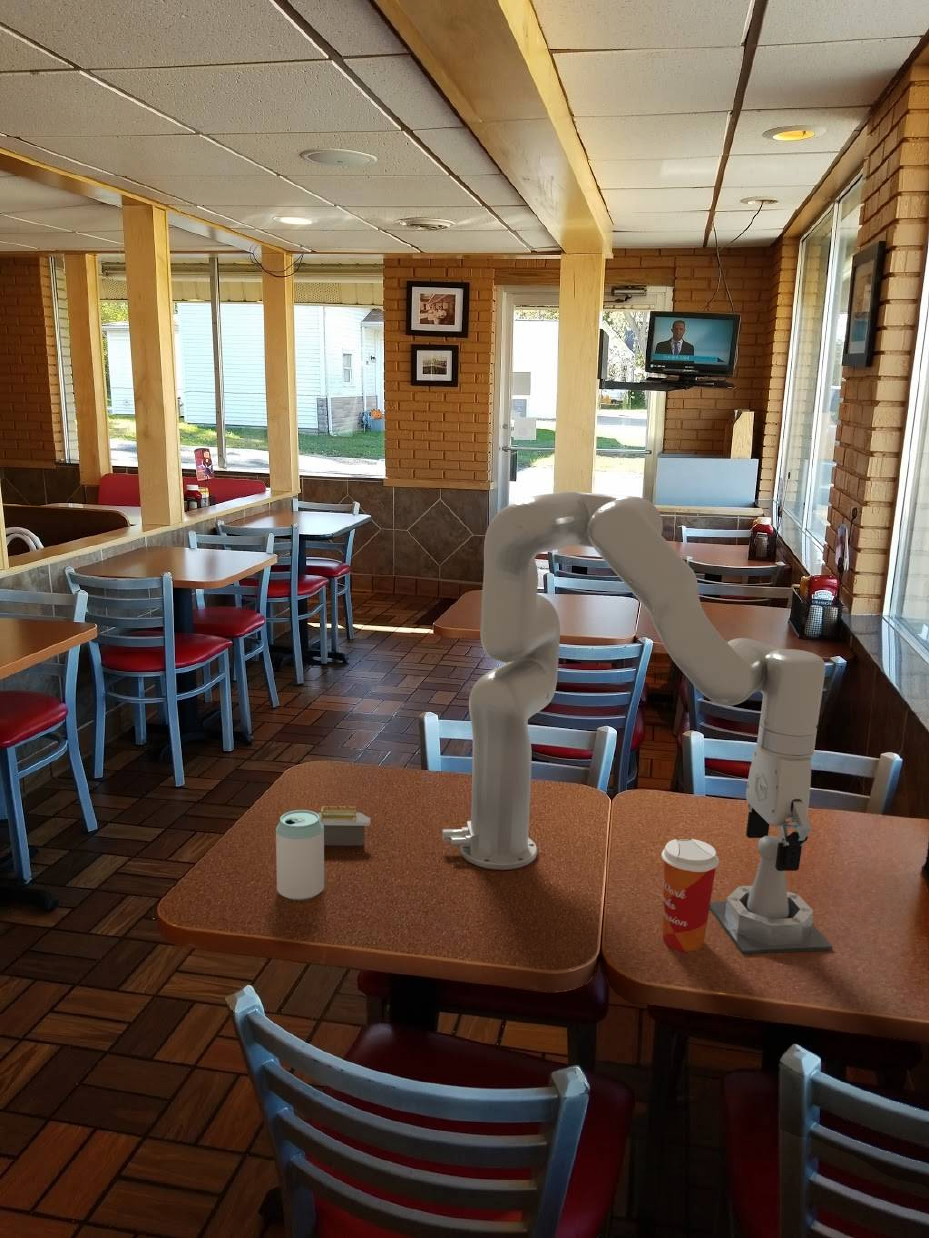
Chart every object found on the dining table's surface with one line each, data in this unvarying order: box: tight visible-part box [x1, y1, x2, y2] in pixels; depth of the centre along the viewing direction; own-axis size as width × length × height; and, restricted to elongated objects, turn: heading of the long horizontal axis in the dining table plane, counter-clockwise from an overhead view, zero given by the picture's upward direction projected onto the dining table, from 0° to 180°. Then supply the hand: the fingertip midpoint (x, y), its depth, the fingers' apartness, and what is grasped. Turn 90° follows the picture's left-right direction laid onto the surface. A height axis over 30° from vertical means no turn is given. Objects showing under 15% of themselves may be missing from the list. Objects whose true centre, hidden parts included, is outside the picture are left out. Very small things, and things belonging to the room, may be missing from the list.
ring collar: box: [709, 885, 833, 956], centre depth 139 cm, size 13×13×4 cm
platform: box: [317, 805, 371, 846], centre depth 161 cm, size 12×18×7 cm, turn 92°
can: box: [275, 809, 325, 901], centre depth 144 cm, size 7×7×12 cm
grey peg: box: [747, 834, 789, 919], centre depth 138 cm, size 6×6×13 cm
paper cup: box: [661, 838, 720, 953], centre depth 133 cm, size 8×8×14 cm
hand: (771, 852), depth 137 cm, fingers open, 9 cm apart
